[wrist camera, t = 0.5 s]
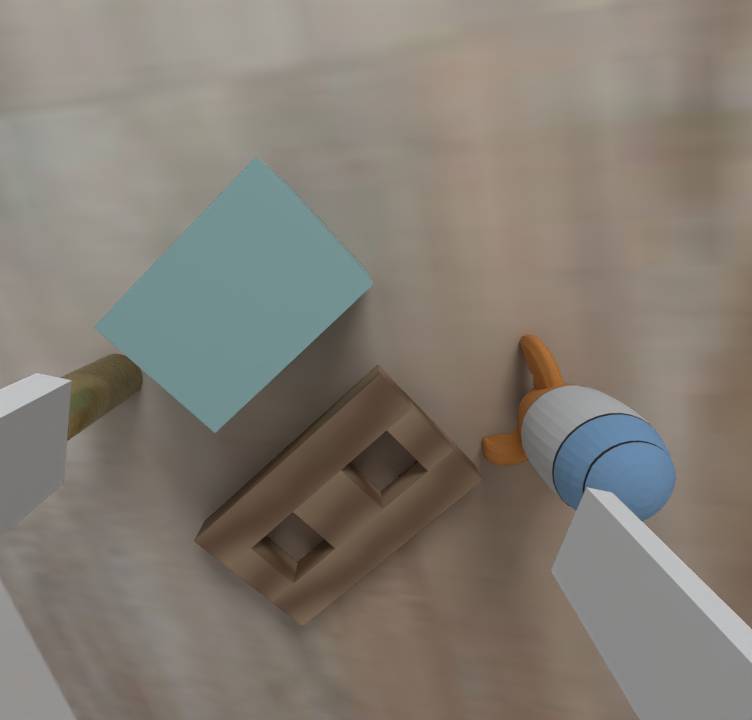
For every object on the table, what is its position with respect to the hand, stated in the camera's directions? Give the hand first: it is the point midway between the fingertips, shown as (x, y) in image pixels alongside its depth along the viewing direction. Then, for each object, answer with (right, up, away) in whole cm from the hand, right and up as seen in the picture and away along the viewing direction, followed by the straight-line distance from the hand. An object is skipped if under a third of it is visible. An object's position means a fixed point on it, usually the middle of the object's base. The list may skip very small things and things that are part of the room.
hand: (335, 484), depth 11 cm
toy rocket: (+14, +1, +25) cm, 28 cm away
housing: (-7, +8, +21) cm, 24 cm away
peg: (-19, +2, +22) cm, 29 cm away
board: (-2, -8, +26) cm, 27 cm away
